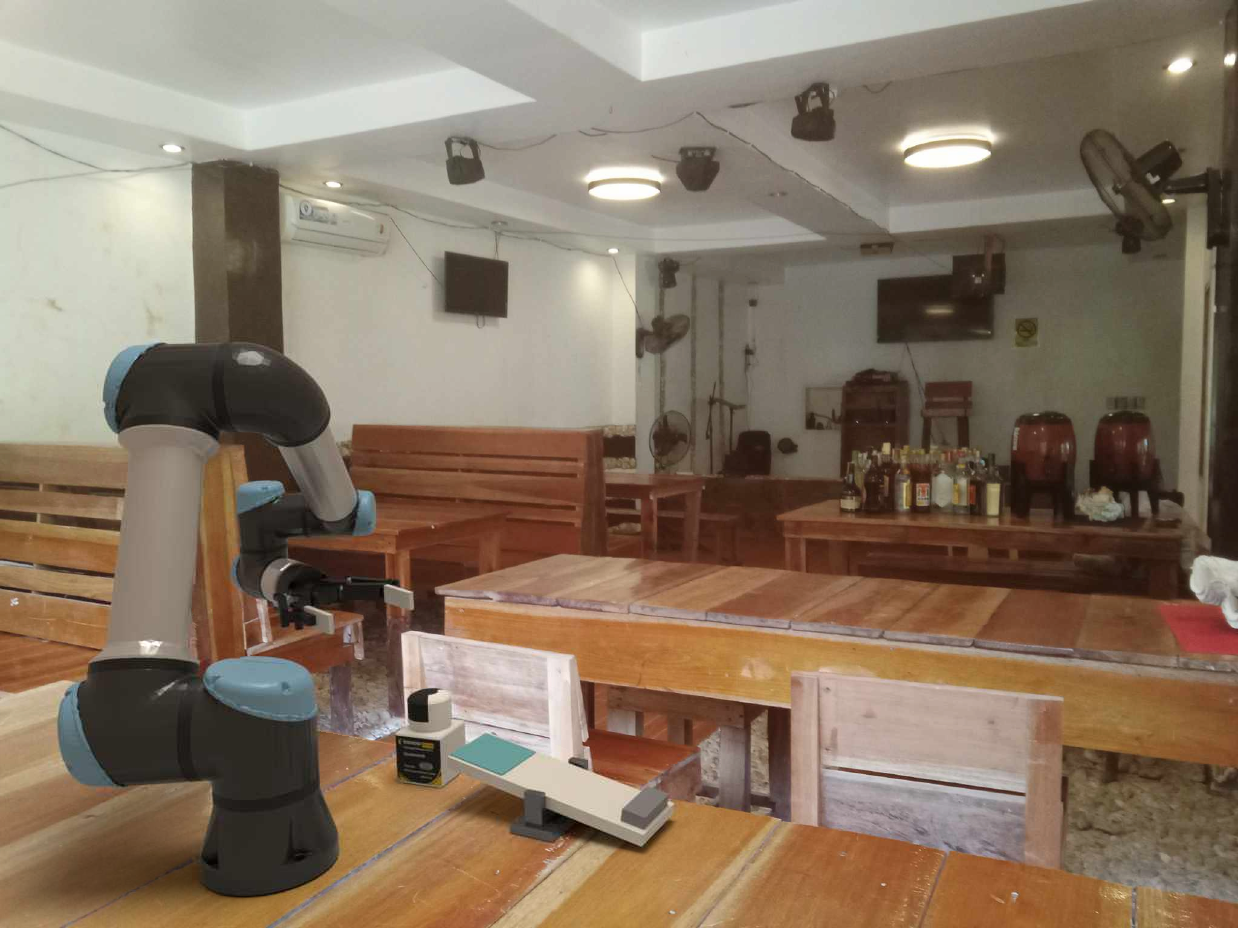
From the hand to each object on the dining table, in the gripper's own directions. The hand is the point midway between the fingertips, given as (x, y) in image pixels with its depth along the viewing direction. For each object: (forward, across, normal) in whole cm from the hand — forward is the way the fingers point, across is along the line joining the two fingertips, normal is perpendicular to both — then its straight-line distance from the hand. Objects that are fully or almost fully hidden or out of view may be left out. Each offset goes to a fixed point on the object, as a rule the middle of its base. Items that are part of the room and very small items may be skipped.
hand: (373, 612), depth 138 cm
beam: (+34, -3, -17) cm, 39 cm away
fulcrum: (+35, -3, -20) cm, 40 cm away
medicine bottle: (+12, 0, -22) cm, 25 cm away
